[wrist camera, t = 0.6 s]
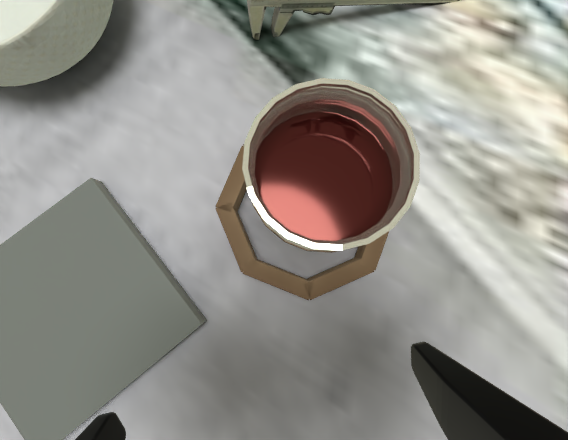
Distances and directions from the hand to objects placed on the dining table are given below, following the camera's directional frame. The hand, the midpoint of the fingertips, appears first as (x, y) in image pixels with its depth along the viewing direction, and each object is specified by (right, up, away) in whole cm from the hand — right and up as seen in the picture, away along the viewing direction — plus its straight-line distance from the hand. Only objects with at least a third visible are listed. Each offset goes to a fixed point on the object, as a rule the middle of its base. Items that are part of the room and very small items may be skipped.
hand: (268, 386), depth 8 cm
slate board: (-15, -2, +13) cm, 20 cm away
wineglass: (+2, +6, +14) cm, 15 cm away
